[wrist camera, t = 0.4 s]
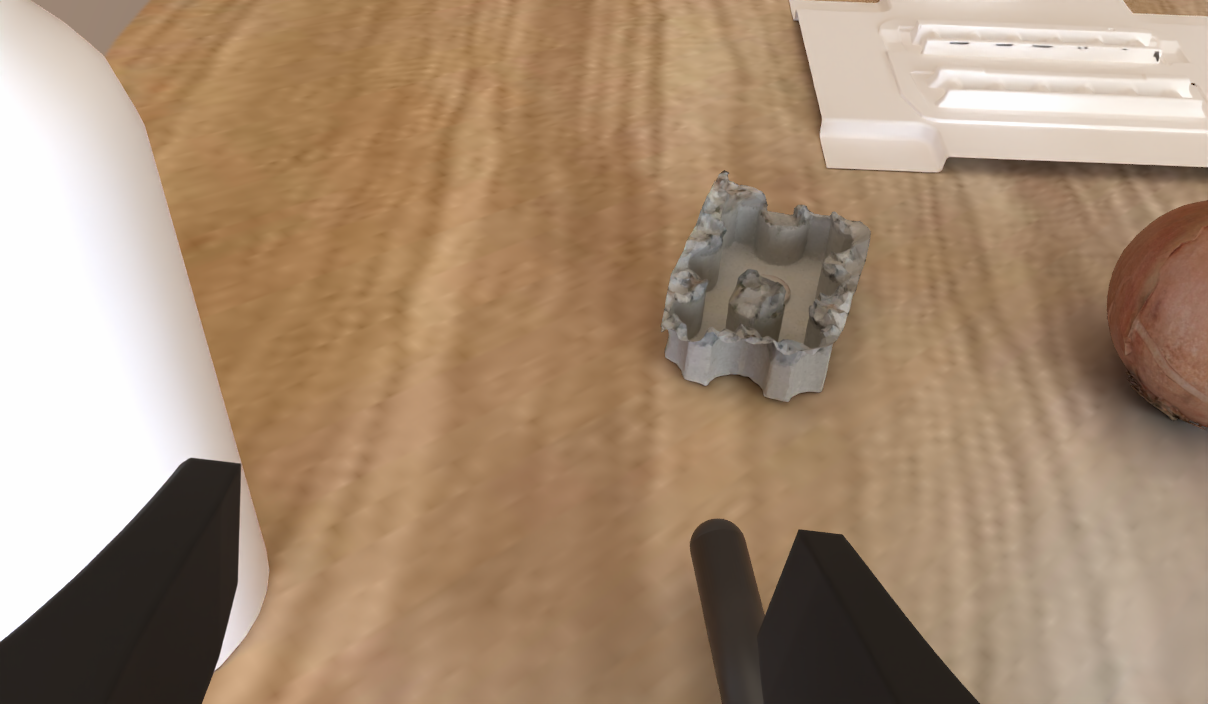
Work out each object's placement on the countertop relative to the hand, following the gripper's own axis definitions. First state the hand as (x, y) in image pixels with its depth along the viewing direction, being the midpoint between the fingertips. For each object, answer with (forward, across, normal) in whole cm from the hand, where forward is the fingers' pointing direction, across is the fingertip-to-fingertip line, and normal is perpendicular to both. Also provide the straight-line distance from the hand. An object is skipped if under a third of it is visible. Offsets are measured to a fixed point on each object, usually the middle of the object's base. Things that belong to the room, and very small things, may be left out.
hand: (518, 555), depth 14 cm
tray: (+51, -32, +7) cm, 61 cm away
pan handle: (+11, -9, +15) cm, 20 cm away
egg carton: (+30, -12, +13) cm, 36 cm away
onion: (+26, -30, +11) cm, 41 cm away
